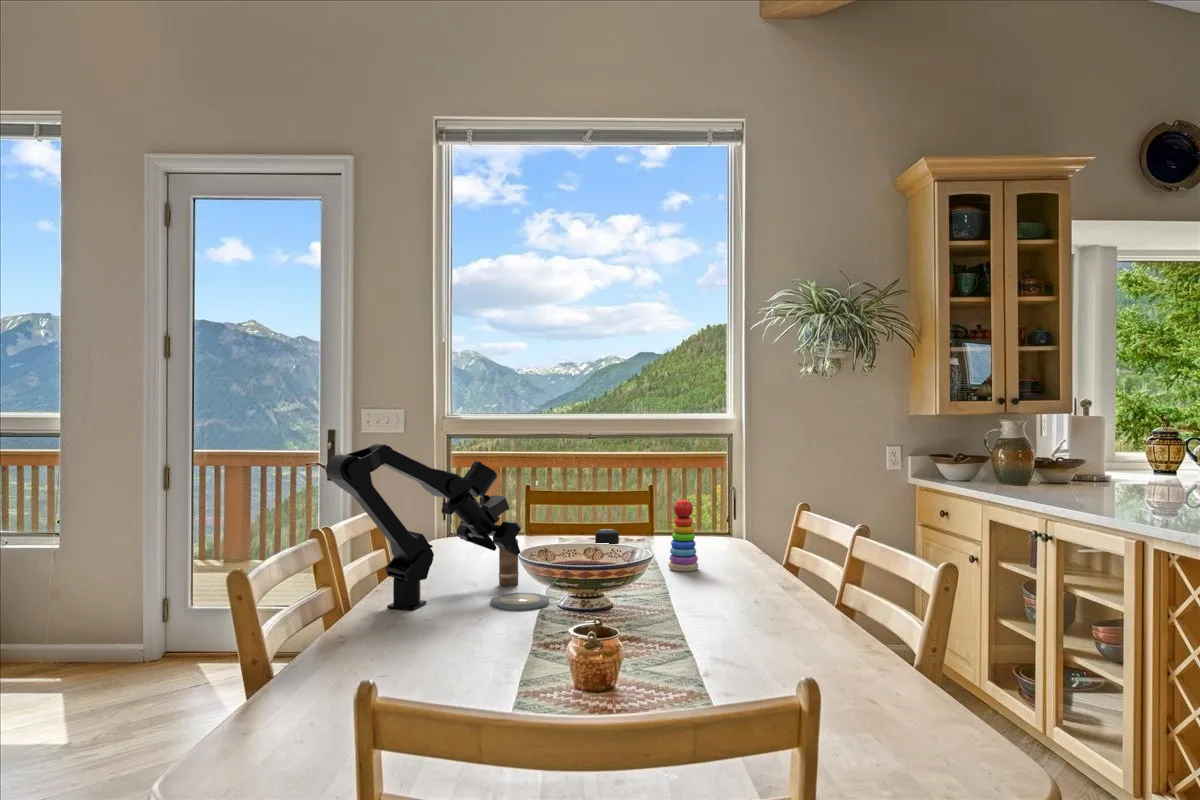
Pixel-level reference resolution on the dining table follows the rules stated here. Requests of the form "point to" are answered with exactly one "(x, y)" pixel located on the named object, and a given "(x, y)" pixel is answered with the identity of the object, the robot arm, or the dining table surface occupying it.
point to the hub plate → (519, 601)
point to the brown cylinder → (508, 569)
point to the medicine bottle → (607, 536)
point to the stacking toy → (683, 539)
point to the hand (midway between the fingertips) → (507, 551)
